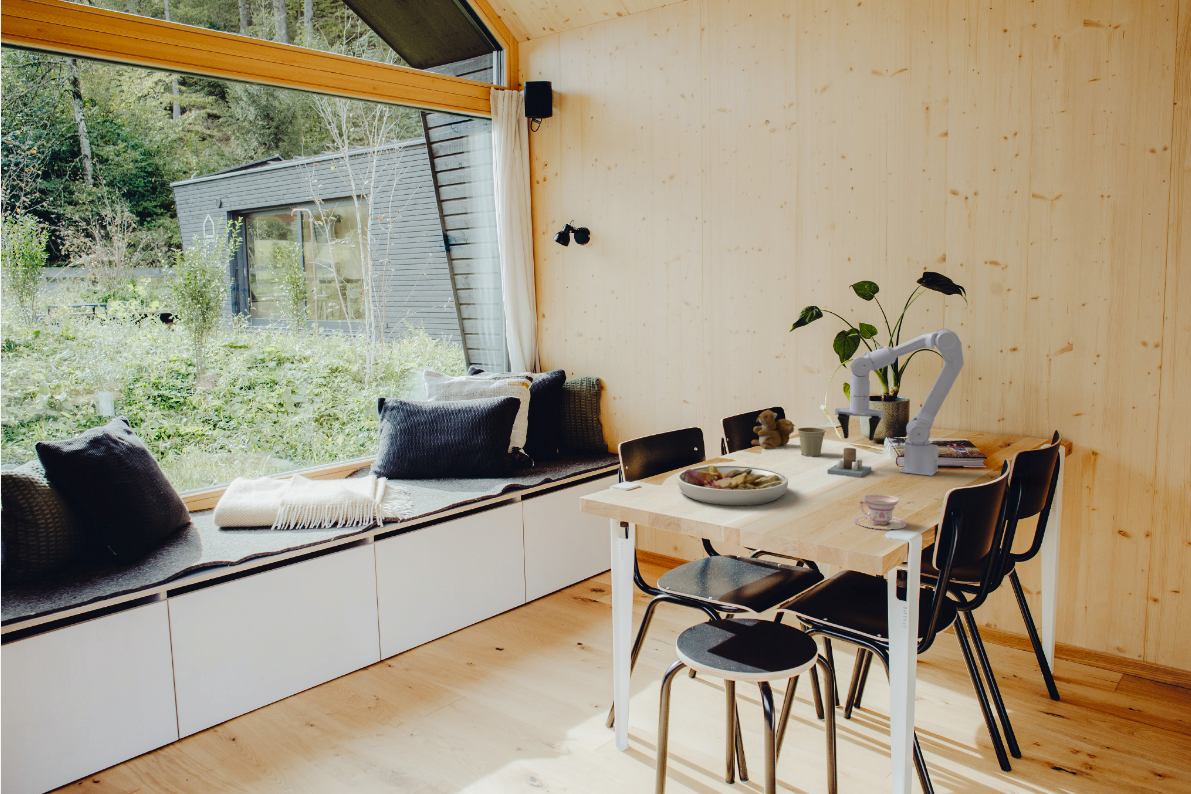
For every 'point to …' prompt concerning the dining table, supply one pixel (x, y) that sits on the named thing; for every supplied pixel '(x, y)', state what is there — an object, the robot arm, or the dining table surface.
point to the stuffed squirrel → (772, 431)
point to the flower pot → (811, 440)
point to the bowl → (732, 485)
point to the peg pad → (855, 472)
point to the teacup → (881, 511)
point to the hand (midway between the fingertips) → (858, 439)
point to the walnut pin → (849, 458)
